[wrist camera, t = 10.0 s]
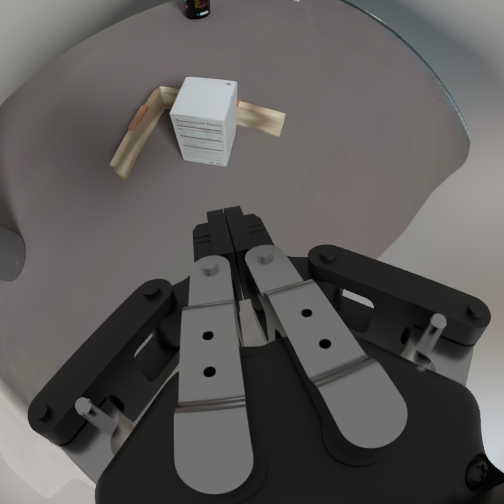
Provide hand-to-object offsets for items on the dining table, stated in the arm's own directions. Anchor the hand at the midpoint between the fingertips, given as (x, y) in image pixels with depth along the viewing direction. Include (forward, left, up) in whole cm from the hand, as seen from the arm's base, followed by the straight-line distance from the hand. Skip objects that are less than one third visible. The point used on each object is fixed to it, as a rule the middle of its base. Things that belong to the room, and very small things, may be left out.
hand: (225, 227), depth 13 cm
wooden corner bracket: (-11, +18, -27) cm, 35 cm away
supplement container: (-31, +61, -27) cm, 74 cm away
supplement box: (-10, +20, -27) cm, 35 cm away
